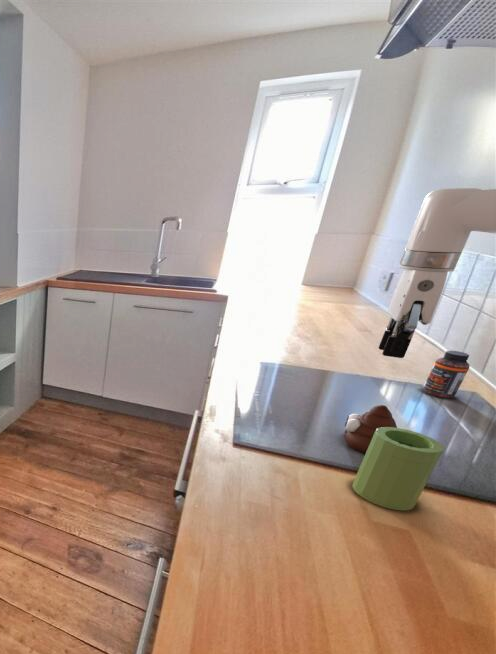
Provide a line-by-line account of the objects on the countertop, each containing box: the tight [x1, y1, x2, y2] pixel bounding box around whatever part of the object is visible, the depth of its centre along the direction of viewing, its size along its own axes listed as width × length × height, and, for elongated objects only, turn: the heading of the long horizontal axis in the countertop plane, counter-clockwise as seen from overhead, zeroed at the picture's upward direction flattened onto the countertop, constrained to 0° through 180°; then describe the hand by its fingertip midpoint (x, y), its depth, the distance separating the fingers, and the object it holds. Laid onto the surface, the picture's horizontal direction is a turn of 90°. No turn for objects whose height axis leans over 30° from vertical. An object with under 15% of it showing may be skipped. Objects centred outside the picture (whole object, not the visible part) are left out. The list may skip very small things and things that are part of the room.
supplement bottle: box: [422, 350, 471, 399], centre depth 104 cm, size 6×6×11 cm
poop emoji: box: [343, 404, 398, 454], centre depth 82 cm, size 10×8×9 cm
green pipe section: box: [352, 427, 445, 512], centre depth 67 cm, size 8×8×11 cm
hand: (390, 352), depth 84 cm, fingers open, 3 cm apart
